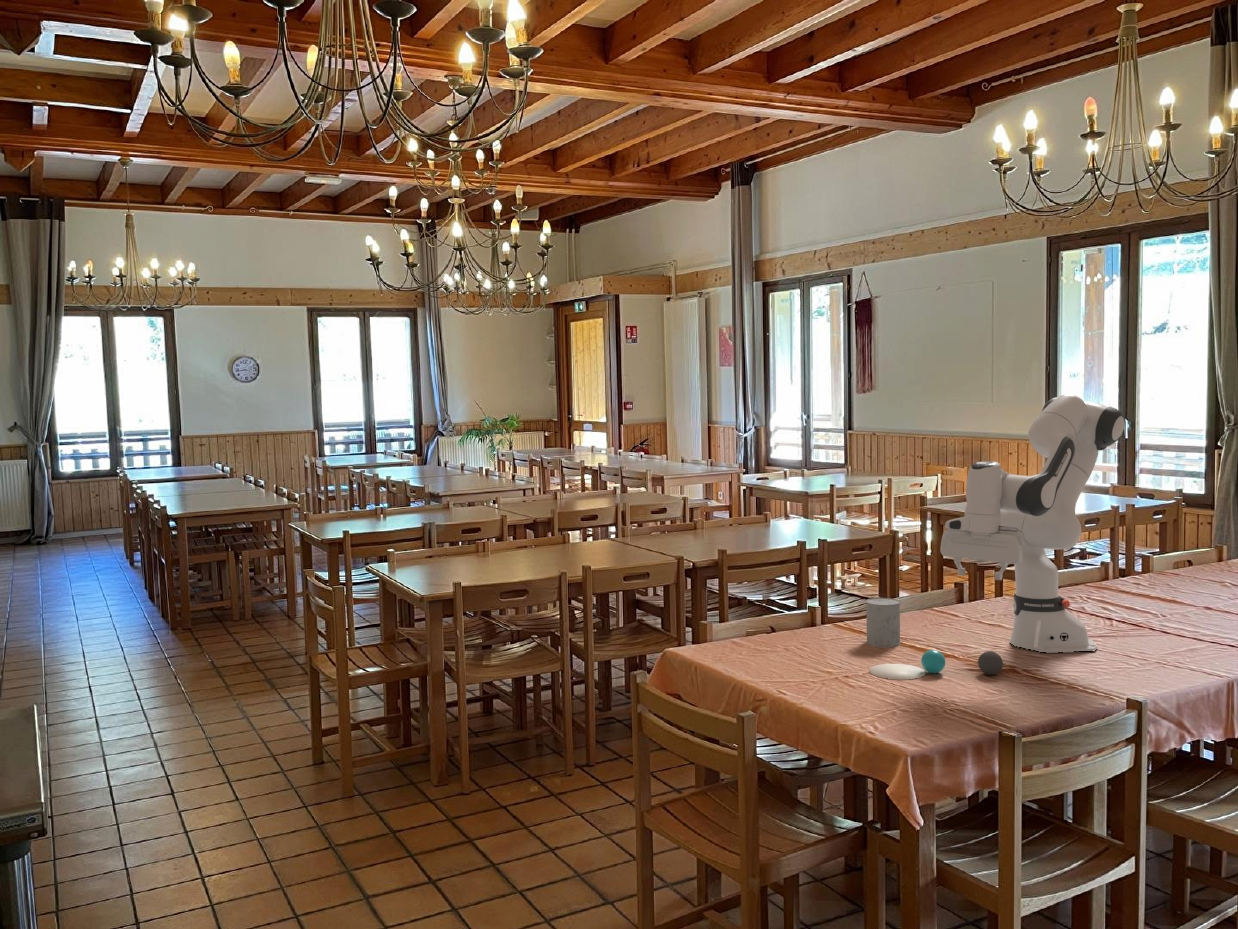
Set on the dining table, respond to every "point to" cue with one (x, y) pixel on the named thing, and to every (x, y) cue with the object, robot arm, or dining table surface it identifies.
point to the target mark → (897, 671)
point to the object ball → (933, 661)
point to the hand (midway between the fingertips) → (979, 577)
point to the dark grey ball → (990, 663)
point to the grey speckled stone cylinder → (883, 622)
